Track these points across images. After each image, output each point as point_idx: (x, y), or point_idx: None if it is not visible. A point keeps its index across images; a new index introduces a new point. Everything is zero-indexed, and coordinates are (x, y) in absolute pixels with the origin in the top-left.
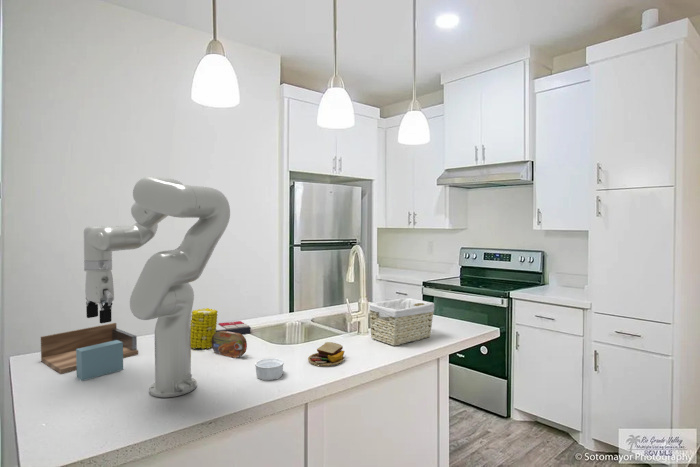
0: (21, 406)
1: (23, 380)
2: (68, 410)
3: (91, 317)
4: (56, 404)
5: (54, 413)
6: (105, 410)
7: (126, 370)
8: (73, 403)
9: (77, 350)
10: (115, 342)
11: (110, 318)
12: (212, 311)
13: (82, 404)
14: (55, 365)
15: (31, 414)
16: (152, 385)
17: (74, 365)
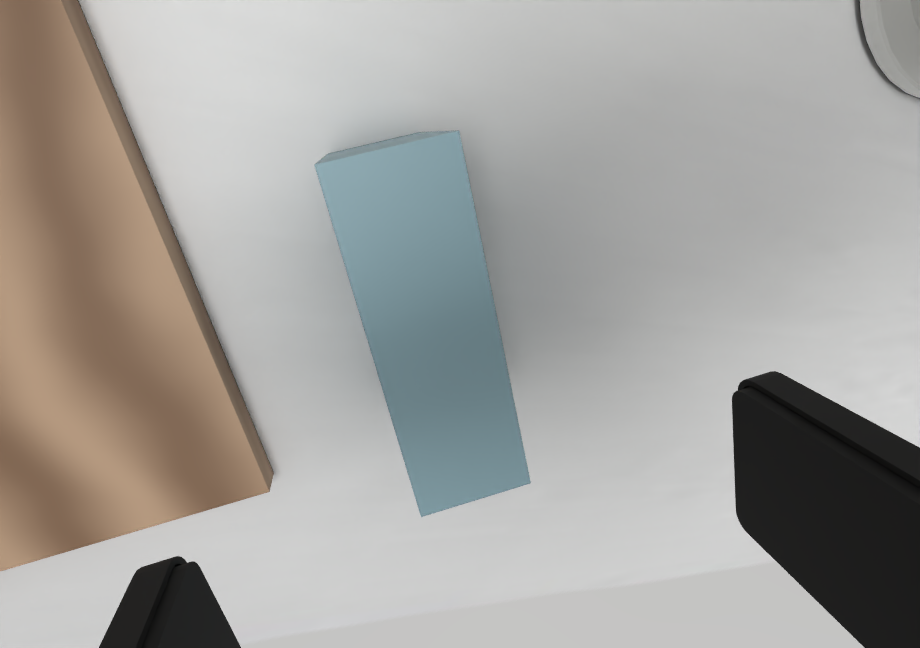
0: (628, 577)
1: (273, 616)
2: None
3: (225, 637)
4: (707, 473)
5: None
6: (916, 314)
7: (458, 117)
8: None
9: (450, 503)
10: (418, 201)
11: (812, 406)
12: None
13: None
14: (156, 520)
15: (733, 539)
16: (911, 65)
17: (228, 423)
